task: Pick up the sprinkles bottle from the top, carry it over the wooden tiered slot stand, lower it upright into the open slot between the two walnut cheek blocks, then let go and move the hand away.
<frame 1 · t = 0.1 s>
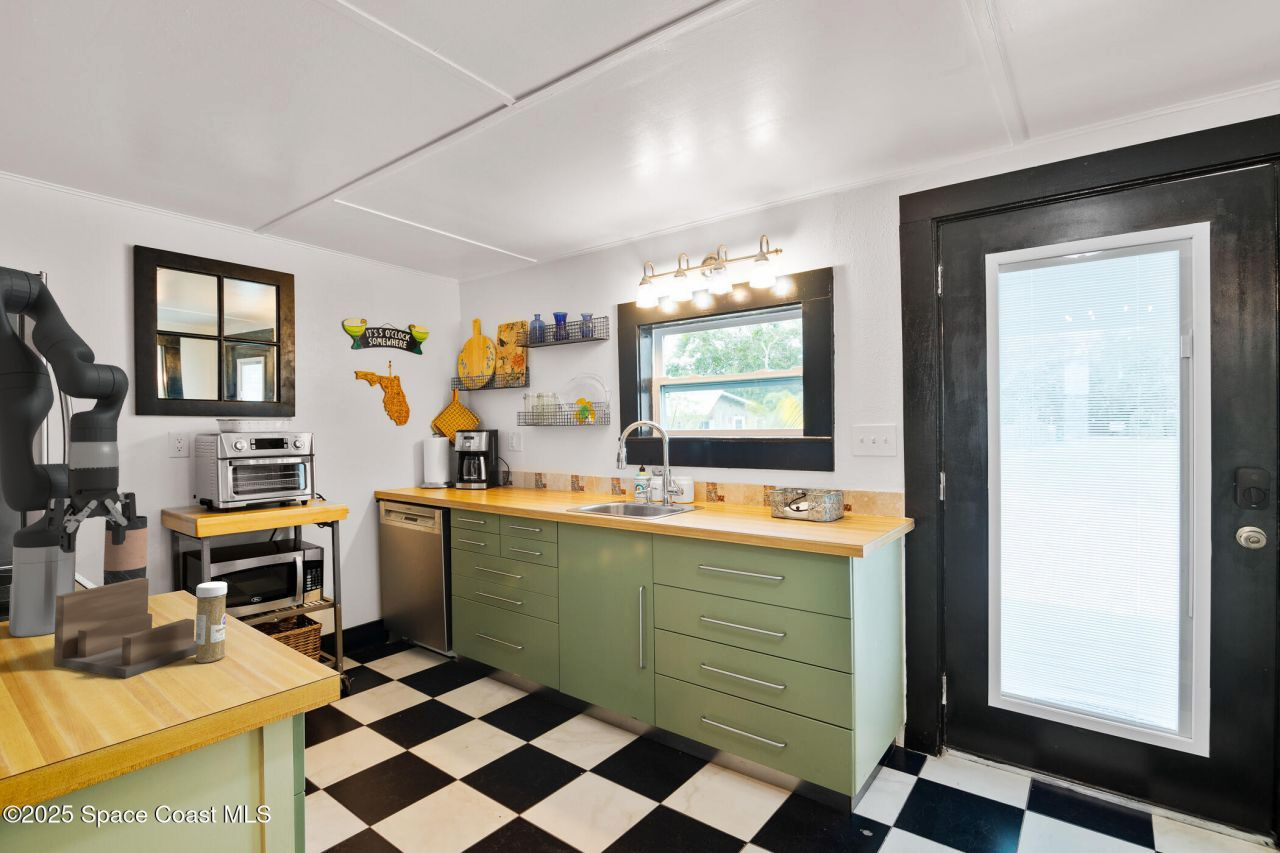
hand: (93, 548, 122), 17 cm above the table, tool pointing down, fingers open, 8 cm apart
wooden tiered slot stand: (137, 658, 112), on the table
travel mug: (124, 605, 144), on the table
sprinkles bottle: (210, 660, 112), on the table
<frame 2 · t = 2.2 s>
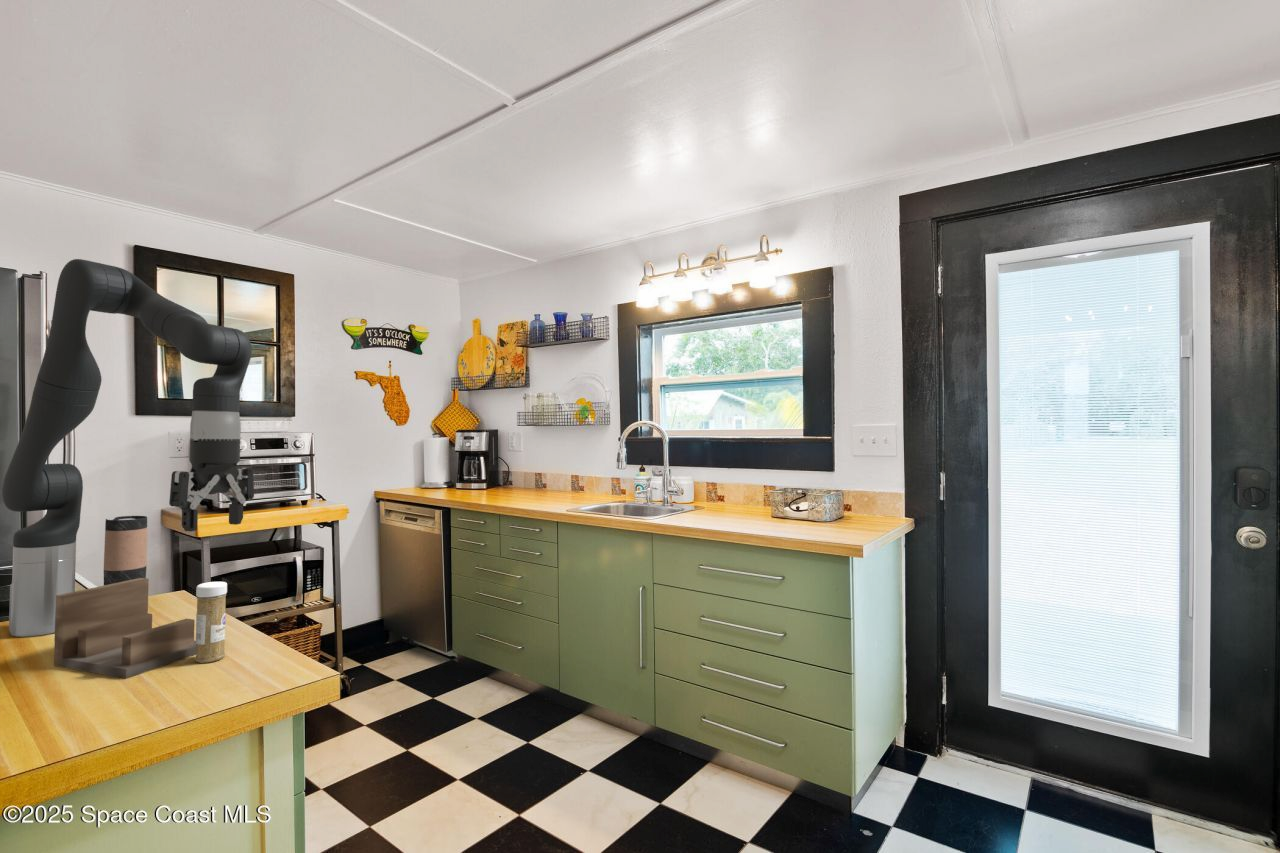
hand: (213, 527, 113), 23 cm above the table, tool pointing down, fingers open, 8 cm apart
nothing on the table moved.
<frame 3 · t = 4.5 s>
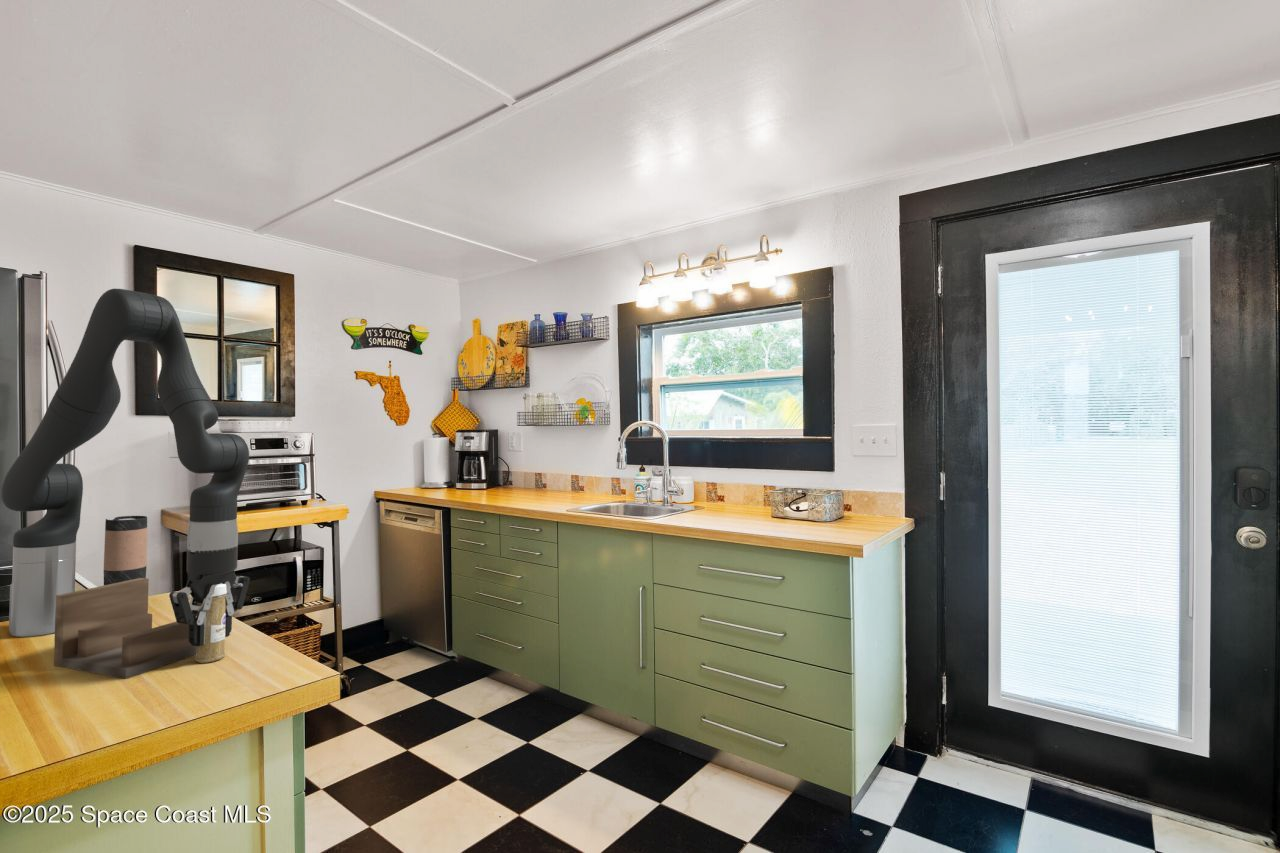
hand: (210, 640, 112), 3 cm above the table, tool pointing down, fingers closed on sprinkles bottle, 4 cm apart
sprinkles bottle: (209, 660, 112), on the table, touching gripper
everything else where it was.
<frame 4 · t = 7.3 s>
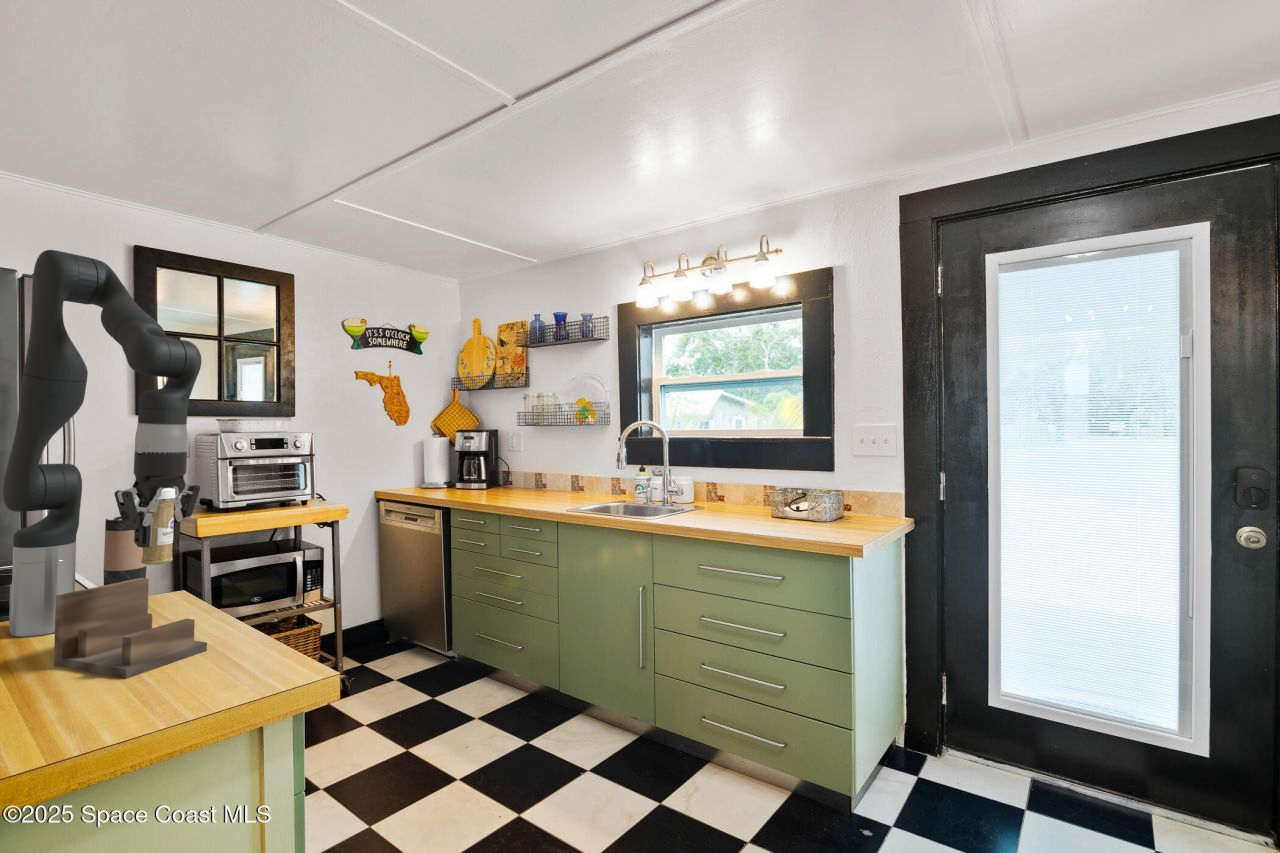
hand: (157, 544, 113), 20 cm above the table, tool pointing down, fingers closed on sprinkles bottle, 4 cm apart
sprinkles bottle: (156, 563, 113), point 17 cm above the table, touching gripper
everything else where it was.
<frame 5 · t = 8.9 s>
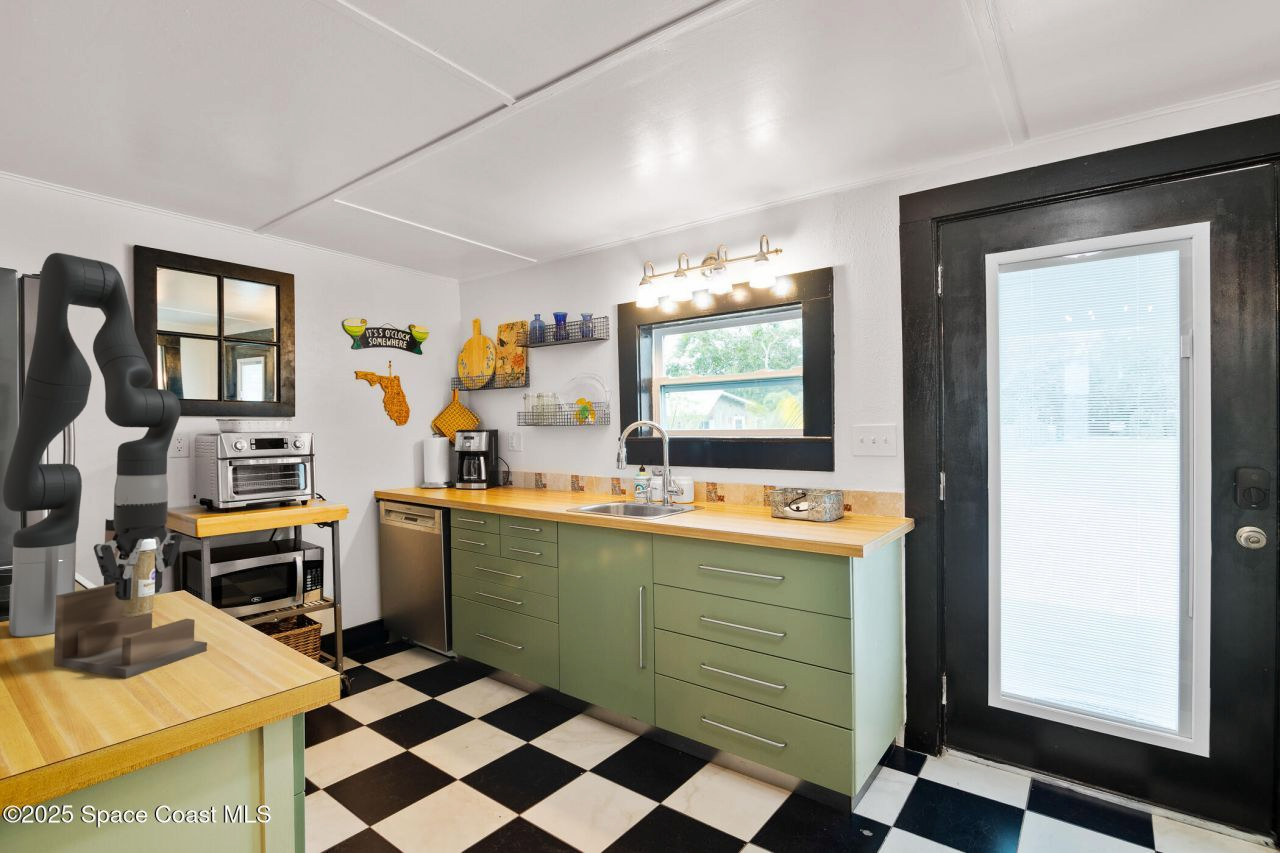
hand: (138, 595, 112), 11 cm above the table, tool pointing down, fingers closed on sprinkles bottle, 4 cm apart
sprinkles bottle: (138, 615, 112), point 8 cm above the table, touching gripper
everything else where it was.
when the fingers open (6 cm above the table, at t = 10.3 s): sprinkles bottle drops 1 cm, resting on wooden tiered slot stand.
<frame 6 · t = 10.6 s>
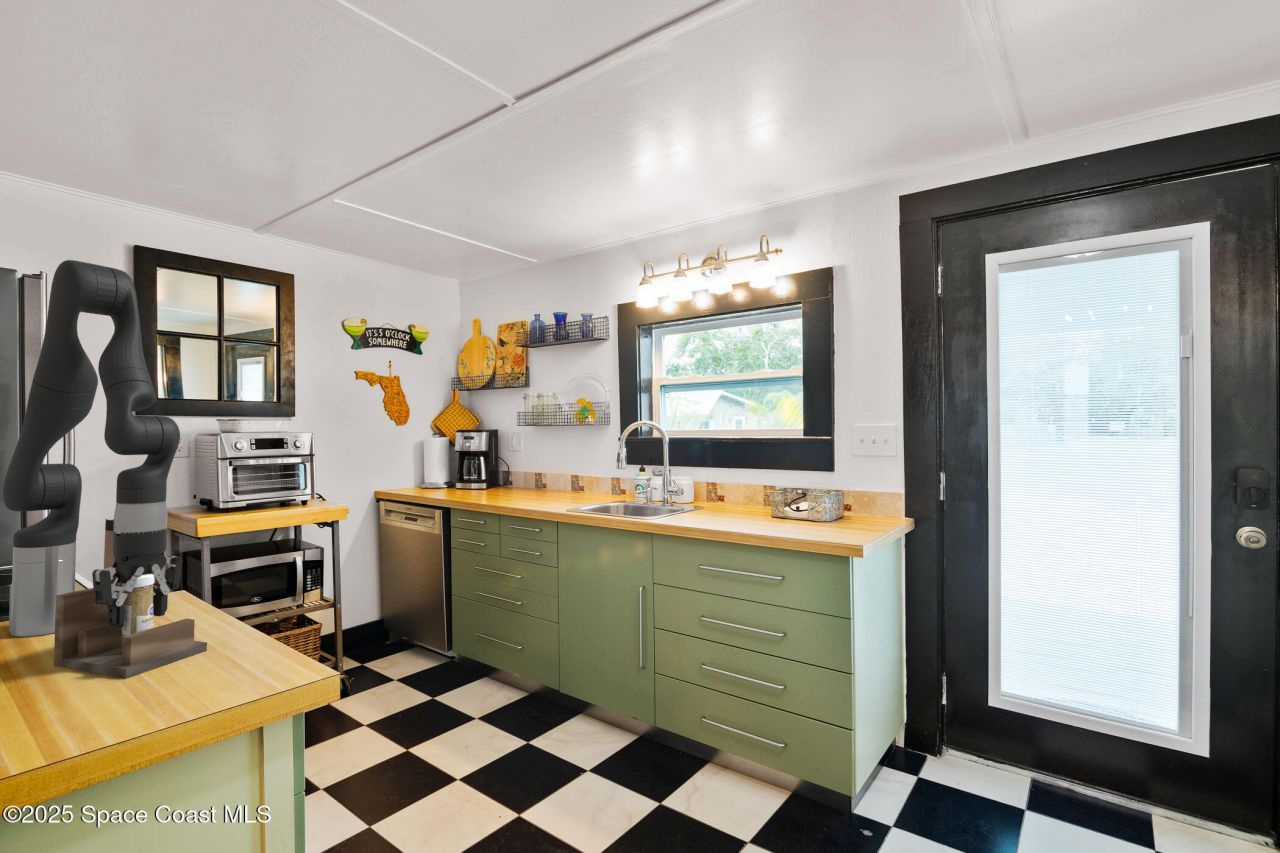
hand: (138, 620, 112), 7 cm above the table, tool pointing down, fingers open, 6 cm apart
sprinkles bottle: (137, 650, 112), point 1 cm above the table, touching wooden tiered slot stand
everything else where it was.
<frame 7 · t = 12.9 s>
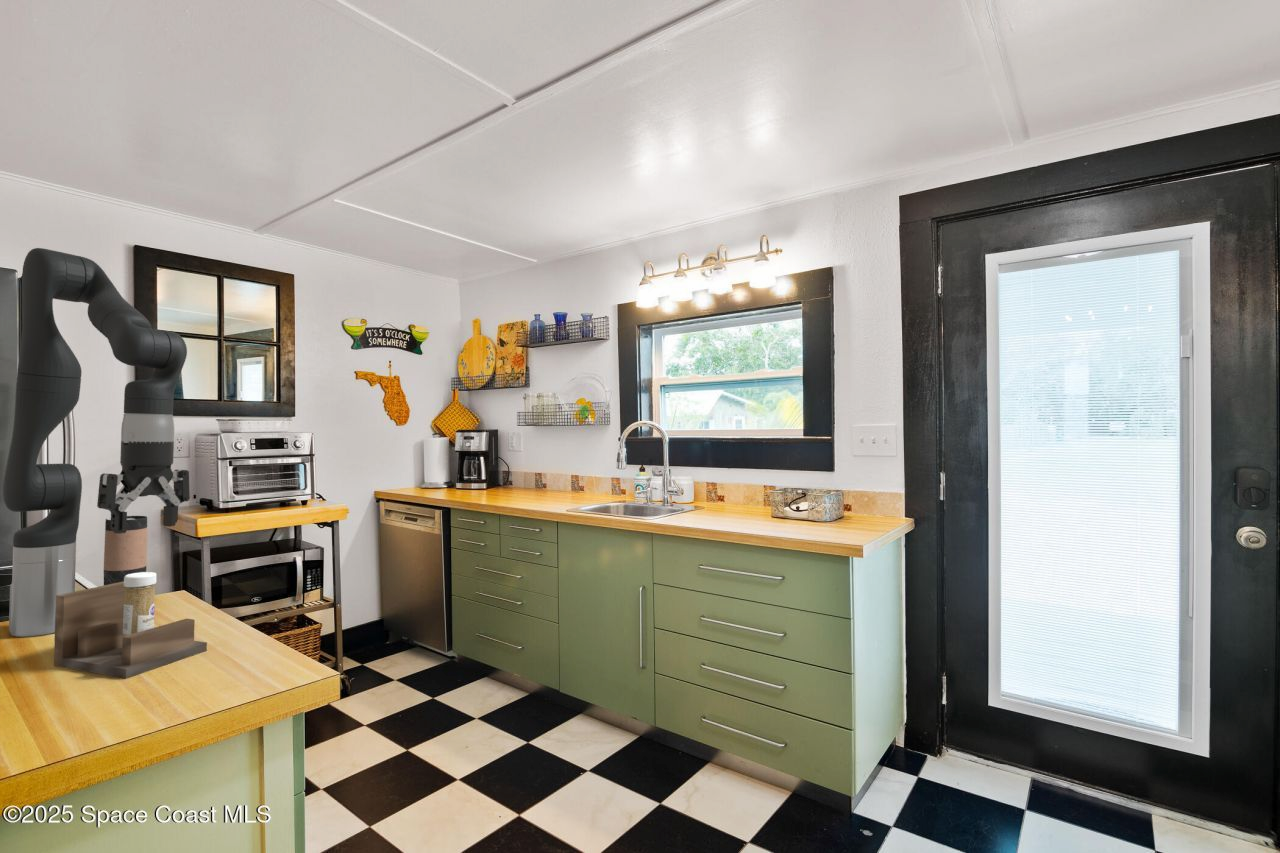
hand: (145, 529, 113), 23 cm above the table, tool pointing down, fingers open, 8 cm apart
nothing on the table moved.
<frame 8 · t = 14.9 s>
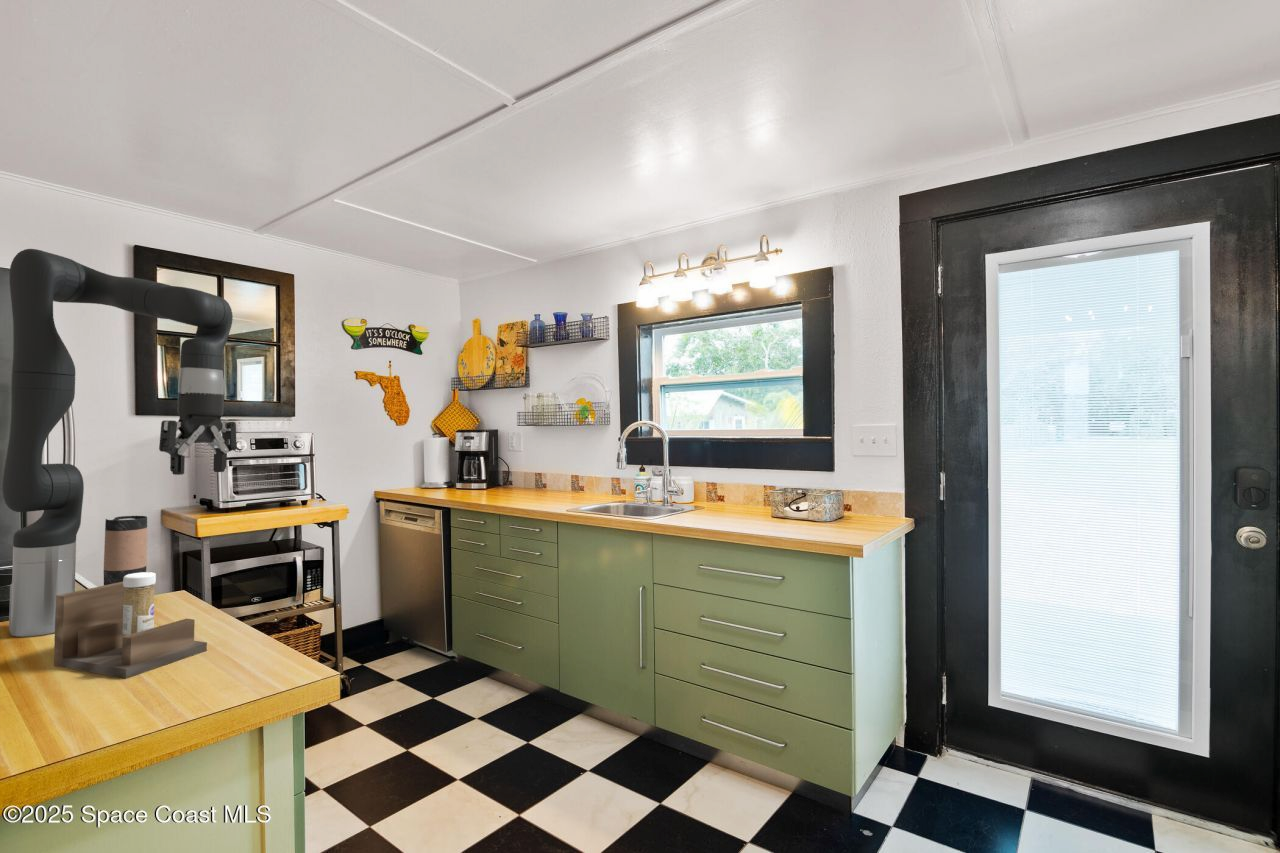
hand: (199, 473, 125), 32 cm above the table, tool pointing down, fingers open, 8 cm apart
nothing on the table moved.
at the end: sprinkles bottle inside the target area on the wooden tiered slot stand (0.1 cm from its centre), point 1.3 cm above the wooden tiered slot stand's base; sprinkles bottle tilted 0°; the gripper is holding nothing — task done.
